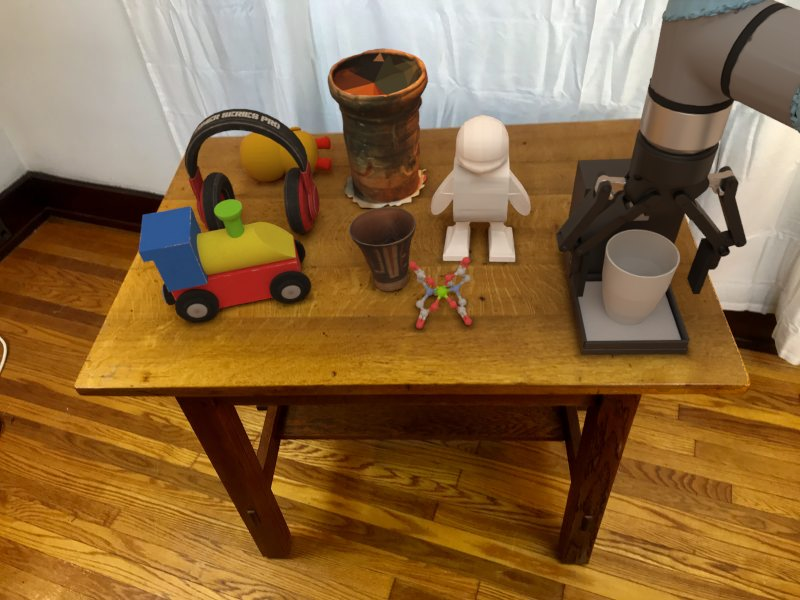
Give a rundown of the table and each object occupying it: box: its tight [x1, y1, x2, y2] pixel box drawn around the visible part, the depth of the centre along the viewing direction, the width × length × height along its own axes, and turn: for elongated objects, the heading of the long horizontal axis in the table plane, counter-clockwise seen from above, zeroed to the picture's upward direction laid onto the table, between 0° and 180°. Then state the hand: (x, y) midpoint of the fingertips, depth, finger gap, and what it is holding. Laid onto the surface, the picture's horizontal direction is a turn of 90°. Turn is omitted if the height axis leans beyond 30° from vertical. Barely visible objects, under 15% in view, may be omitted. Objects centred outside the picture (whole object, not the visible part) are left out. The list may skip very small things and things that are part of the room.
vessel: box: [327, 48, 429, 209], centre depth 95 cm, size 14×14×20 cm
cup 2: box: [602, 230, 681, 325], centre depth 75 cm, size 8×8×10 cm
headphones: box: [184, 108, 321, 235], centre depth 89 cm, size 18×10×20 cm, turn 90°
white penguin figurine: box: [430, 114, 532, 263], centre depth 84 cm, size 14×9×20 cm, turn 84°
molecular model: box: [408, 256, 473, 330], centre depth 80 cm, size 7×8×8 cm
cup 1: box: [348, 206, 417, 292], centre depth 84 cm, size 9×9×10 cm
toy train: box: [138, 199, 312, 323], centre depth 82 cm, size 9×20×15 cm, turn 102°
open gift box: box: [561, 157, 691, 356], centre depth 76 cm, size 18×12×16 cm
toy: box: [239, 126, 333, 183], centre depth 103 cm, size 9×9×15 cm
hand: (635, 287), depth 75 cm, fingers open, 13 cm apart
